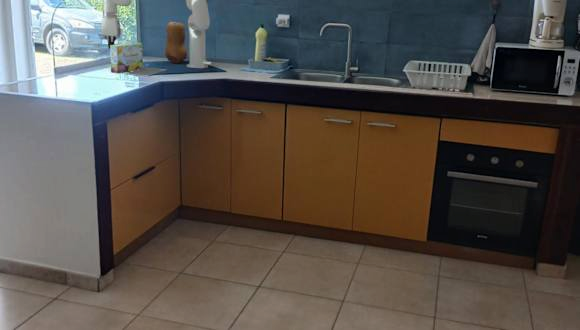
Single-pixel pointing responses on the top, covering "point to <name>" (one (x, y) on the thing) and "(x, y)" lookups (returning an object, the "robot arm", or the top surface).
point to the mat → (146, 72)
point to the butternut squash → (175, 42)
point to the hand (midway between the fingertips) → (111, 48)
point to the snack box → (126, 57)
